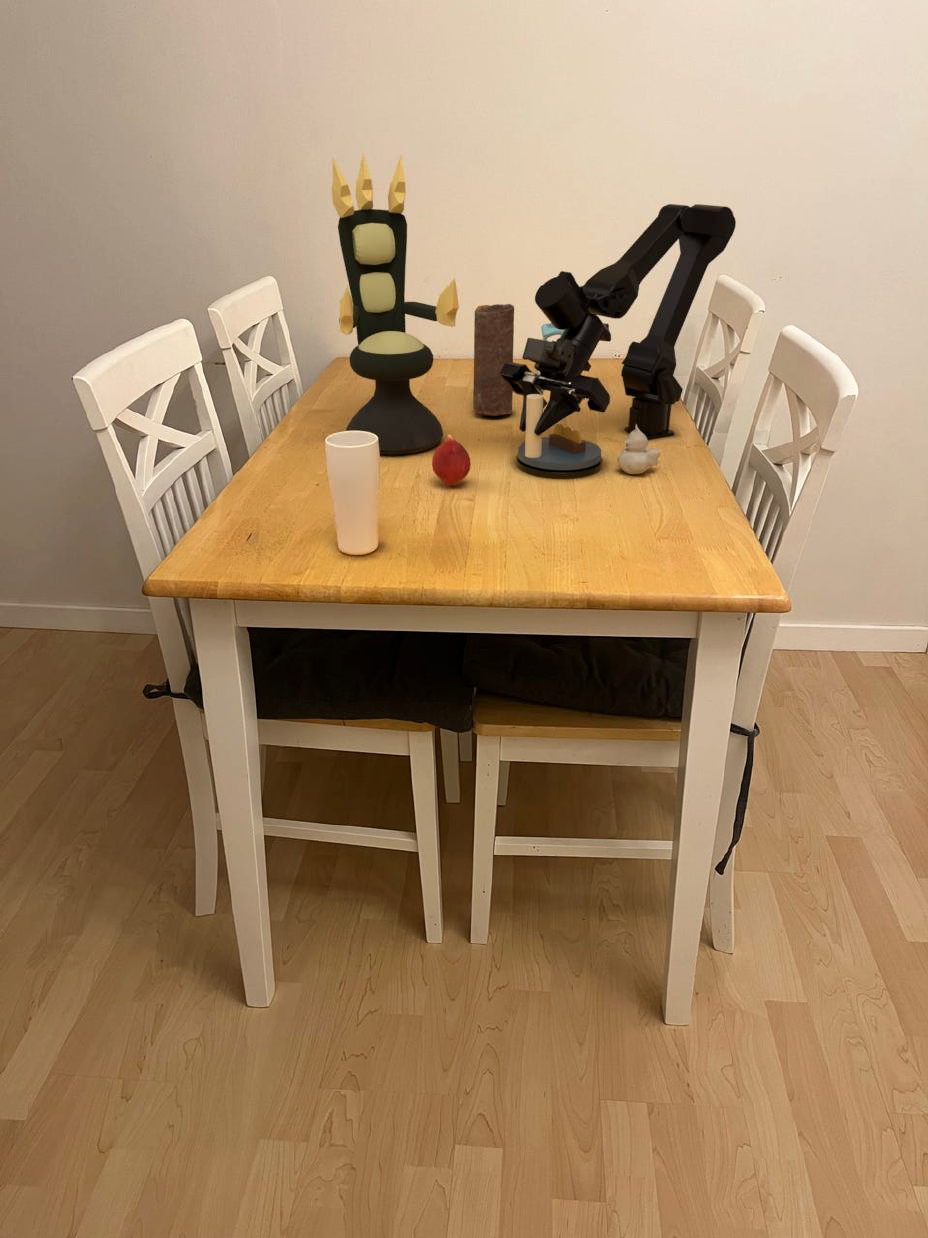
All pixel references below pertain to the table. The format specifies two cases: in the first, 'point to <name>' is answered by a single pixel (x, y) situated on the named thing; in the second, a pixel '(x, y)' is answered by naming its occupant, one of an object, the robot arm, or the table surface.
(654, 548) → the table surface
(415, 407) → the black throne
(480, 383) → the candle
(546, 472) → the turntable base
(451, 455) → the onion
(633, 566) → the table surface
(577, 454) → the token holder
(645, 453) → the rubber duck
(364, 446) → the drinking glass
